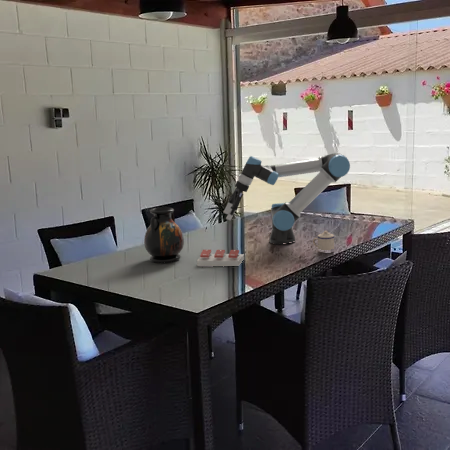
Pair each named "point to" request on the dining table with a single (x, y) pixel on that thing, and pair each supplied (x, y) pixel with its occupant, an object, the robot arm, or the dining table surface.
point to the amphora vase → (163, 237)
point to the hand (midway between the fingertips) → (226, 216)
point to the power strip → (220, 261)
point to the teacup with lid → (325, 241)
